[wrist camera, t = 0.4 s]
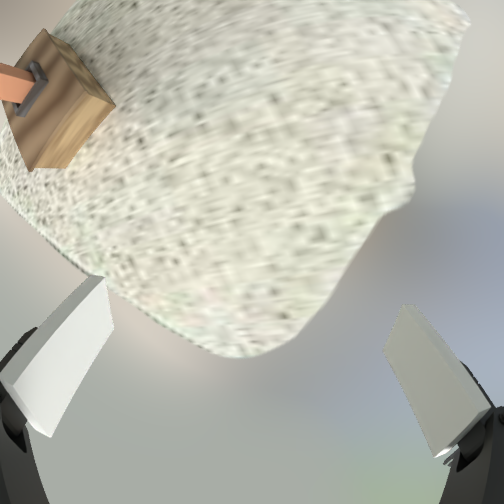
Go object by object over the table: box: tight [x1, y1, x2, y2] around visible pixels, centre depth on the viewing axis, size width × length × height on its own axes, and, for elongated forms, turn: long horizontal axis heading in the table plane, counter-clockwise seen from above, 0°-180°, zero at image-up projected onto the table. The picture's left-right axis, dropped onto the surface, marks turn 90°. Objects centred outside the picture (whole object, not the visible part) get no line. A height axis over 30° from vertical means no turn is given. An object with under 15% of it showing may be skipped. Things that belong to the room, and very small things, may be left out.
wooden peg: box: [0, 63, 36, 104], centre depth 18 cm, size 4×4×14 cm
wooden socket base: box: [2, 29, 116, 172], centre depth 28 cm, size 25×15×11 cm, turn 39°
